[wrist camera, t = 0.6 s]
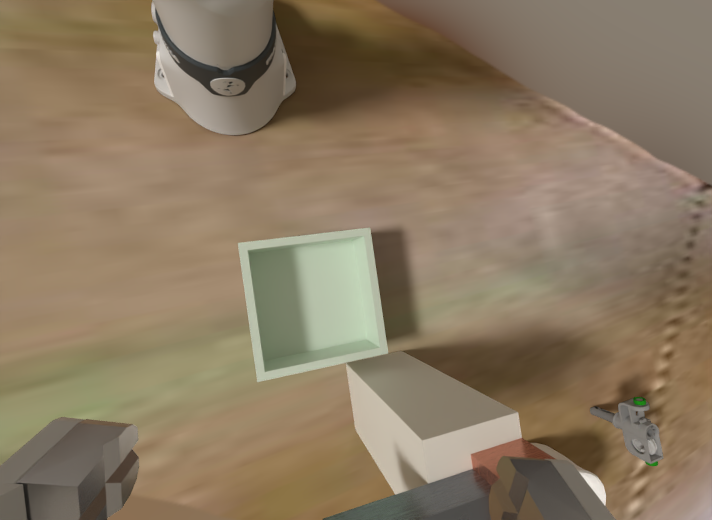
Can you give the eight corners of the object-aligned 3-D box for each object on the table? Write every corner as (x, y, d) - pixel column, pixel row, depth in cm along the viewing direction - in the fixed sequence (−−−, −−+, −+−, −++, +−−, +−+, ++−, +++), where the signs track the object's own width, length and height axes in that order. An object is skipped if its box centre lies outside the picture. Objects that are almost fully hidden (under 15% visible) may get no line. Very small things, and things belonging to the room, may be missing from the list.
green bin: (240, 247, 50) (237, 243, 43) (356, 233, 54) (370, 227, 48) (257, 367, 50) (257, 382, 43) (372, 343, 54) (388, 353, 47)
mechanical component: (594, 380, 65) (652, 398, 55) (605, 435, 65) (665, 463, 55) (581, 384, 64) (638, 404, 54) (592, 440, 64) (651, 469, 54)
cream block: (345, 363, 53) (422, 440, 28) (401, 350, 55) (517, 412, 30) (355, 429, 53) (440, 567, 28) (410, 414, 55) (535, 529, 30)
